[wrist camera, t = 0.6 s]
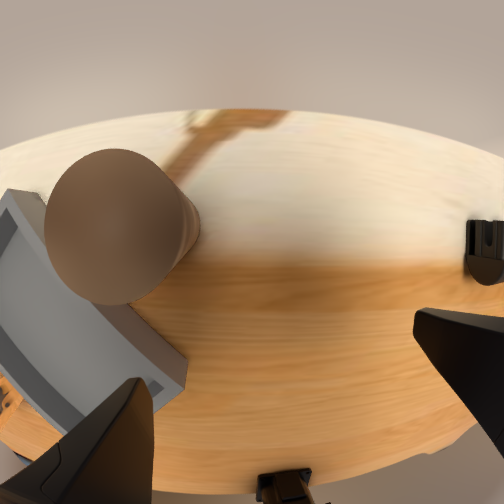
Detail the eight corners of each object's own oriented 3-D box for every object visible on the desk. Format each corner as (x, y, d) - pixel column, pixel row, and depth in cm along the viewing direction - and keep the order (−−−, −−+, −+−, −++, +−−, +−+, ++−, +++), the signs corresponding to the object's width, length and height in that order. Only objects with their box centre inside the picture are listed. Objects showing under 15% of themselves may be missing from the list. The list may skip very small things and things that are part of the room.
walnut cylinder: (199, 258, 21) (181, 309, 8) (136, 257, 20) (47, 299, 8) (201, 192, 21) (186, 146, 8) (138, 192, 20) (49, 155, 7)
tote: (188, 360, 22) (184, 389, 17) (104, 431, 21) (93, 458, 17) (37, 192, 18) (7, 188, 14) (-20, 293, 18) (-45, 303, 14)
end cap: (460, 280, 26) (502, 290, 19) (463, 219, 25) (507, 220, 18) (497, 273, 27) (532, 281, 20) (499, 222, 26) (535, 224, 20)
